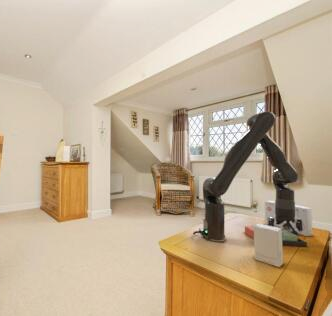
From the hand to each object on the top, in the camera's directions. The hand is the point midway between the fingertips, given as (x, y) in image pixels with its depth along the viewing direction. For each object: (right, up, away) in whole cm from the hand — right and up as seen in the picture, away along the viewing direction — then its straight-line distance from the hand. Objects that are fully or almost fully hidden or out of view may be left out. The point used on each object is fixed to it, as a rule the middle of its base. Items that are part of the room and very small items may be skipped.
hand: (284, 237), depth 102 cm
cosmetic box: (-27, -2, -20) cm, 33 cm away
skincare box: (+18, -2, +17) cm, 25 cm away
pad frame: (+1, -2, +4) cm, 5 cm away
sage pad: (0, -1, 0) cm, 1 cm away
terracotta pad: (-10, -2, +8) cm, 13 cm away
